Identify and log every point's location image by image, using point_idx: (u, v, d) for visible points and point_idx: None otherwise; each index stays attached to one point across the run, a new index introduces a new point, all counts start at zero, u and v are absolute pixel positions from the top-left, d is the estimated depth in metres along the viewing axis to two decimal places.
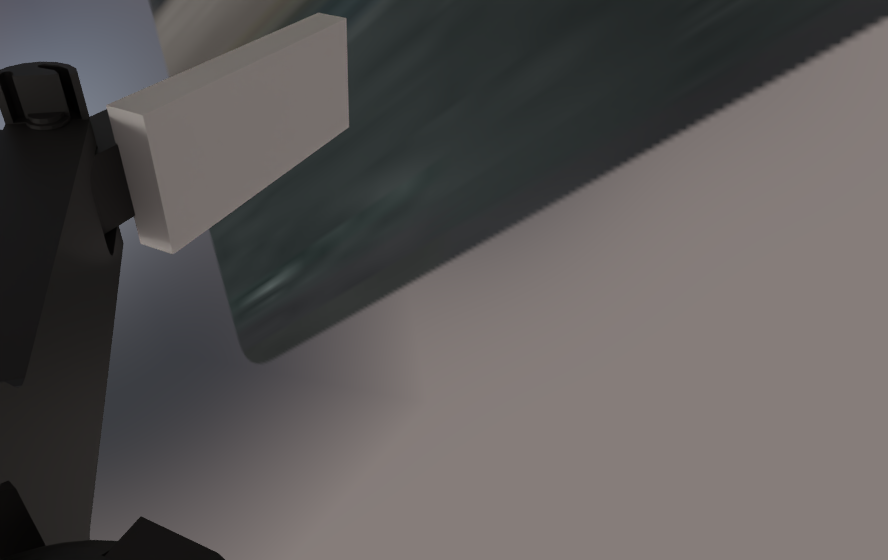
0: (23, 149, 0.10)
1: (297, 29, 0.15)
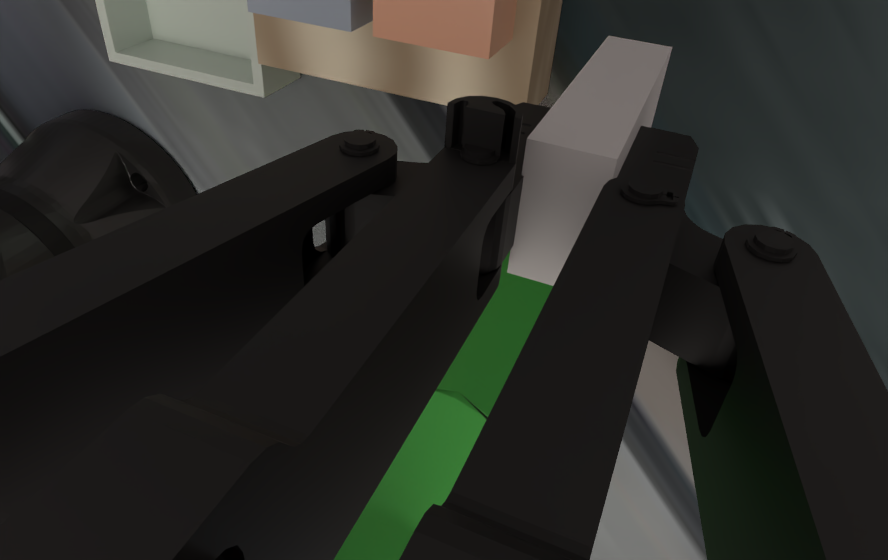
0: (444, 177, 0.10)
1: (610, 54, 0.15)
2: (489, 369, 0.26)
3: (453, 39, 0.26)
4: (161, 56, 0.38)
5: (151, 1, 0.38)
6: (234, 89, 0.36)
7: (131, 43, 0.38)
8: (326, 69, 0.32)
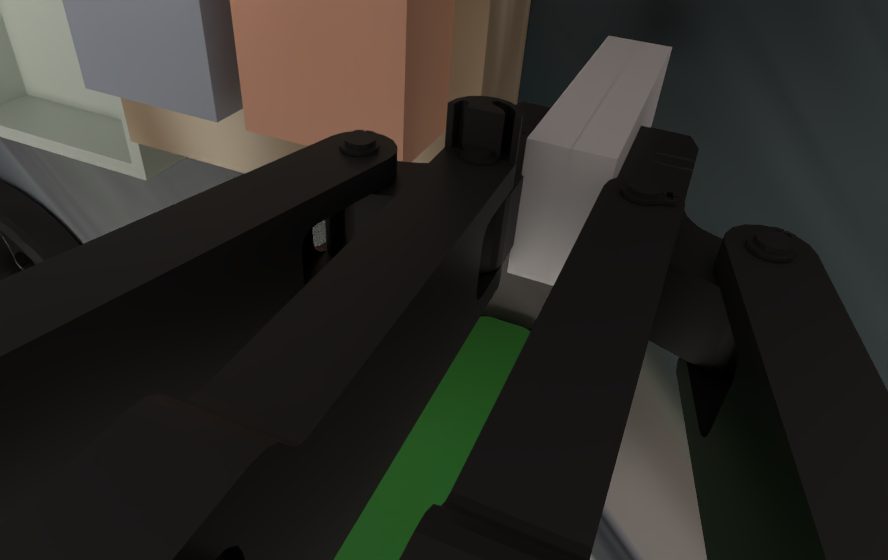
0: (444, 178, 0.10)
1: (610, 54, 0.15)
2: None
3: None
4: (26, 121, 0.30)
5: (19, 50, 0.31)
6: (110, 168, 0.28)
7: None
8: (213, 153, 0.24)
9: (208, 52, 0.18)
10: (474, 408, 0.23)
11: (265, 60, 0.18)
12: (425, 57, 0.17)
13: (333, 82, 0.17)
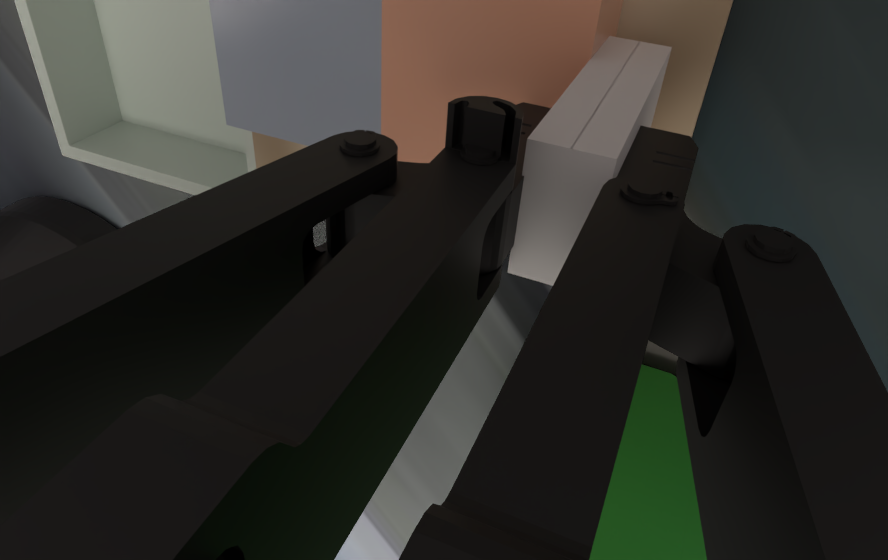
0: (444, 178, 0.10)
1: (610, 54, 0.15)
2: None
3: None
4: (129, 151, 0.28)
5: (118, 75, 0.29)
6: None
7: (92, 131, 0.29)
8: None
9: None
10: (641, 467, 0.22)
11: (414, 92, 0.16)
12: None
13: None
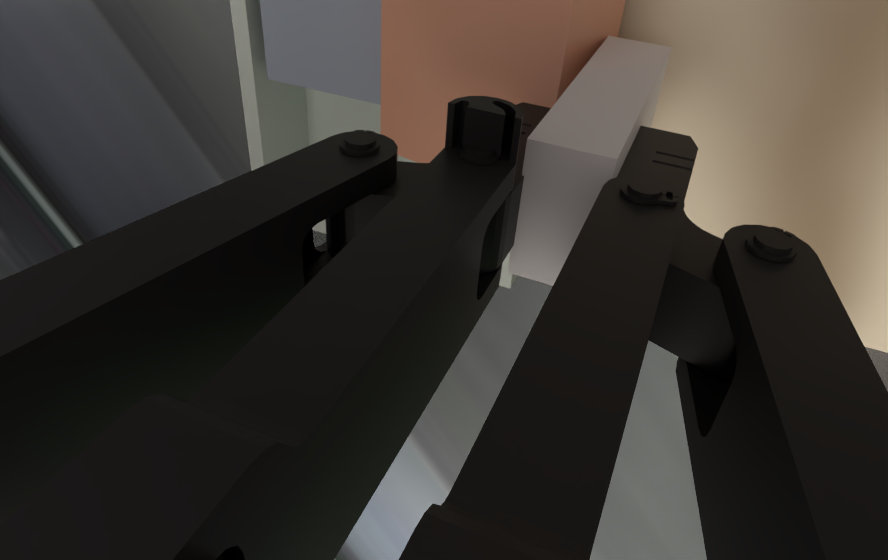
0: (444, 178, 0.10)
1: (610, 54, 0.15)
2: None
3: None
4: None
5: (316, 124, 0.26)
6: None
7: None
8: None
9: None
10: None
11: (409, 79, 0.17)
12: None
13: None
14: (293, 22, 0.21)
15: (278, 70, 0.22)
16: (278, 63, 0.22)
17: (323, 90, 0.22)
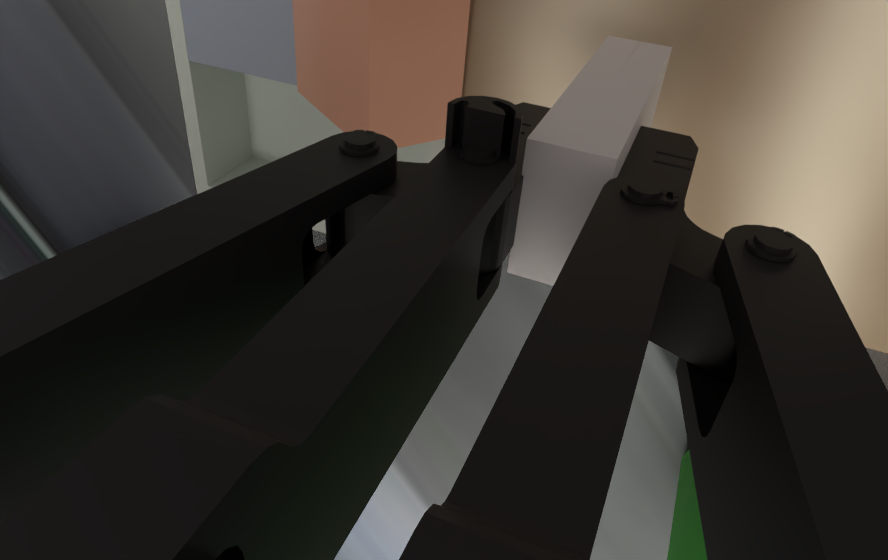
0: (444, 178, 0.10)
1: (610, 54, 0.15)
2: None
3: (344, 117, 0.19)
4: None
5: (255, 110, 0.27)
6: None
7: (227, 169, 0.27)
8: None
9: None
10: None
11: (305, 30, 0.20)
12: (408, 52, 0.18)
13: (335, 58, 0.19)
14: (209, 6, 0.22)
15: (198, 52, 0.23)
16: (198, 45, 0.23)
17: (240, 71, 0.23)
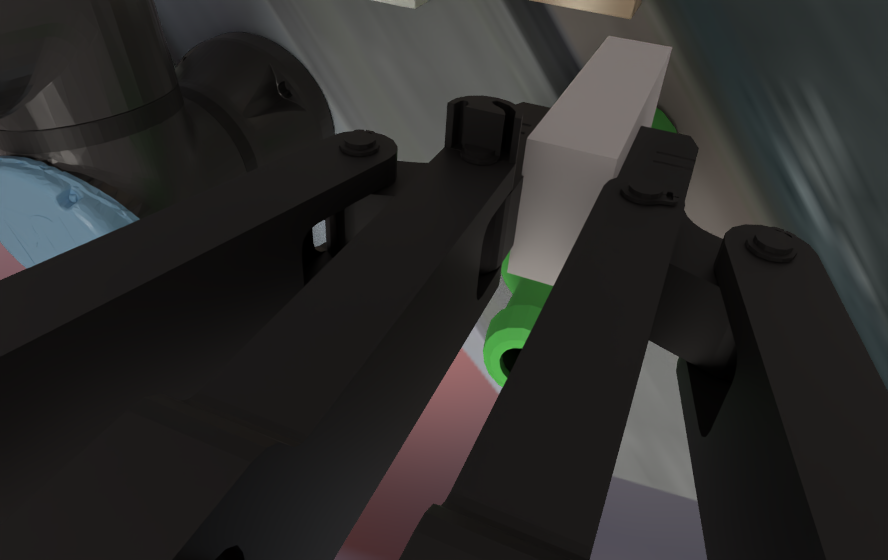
0: (444, 178, 0.10)
1: (610, 54, 0.15)
2: None
3: None
4: None
5: None
6: (389, 2, 0.45)
7: None
8: None
9: None
10: None
11: None
12: None
13: None
14: None
15: None
16: None
17: None
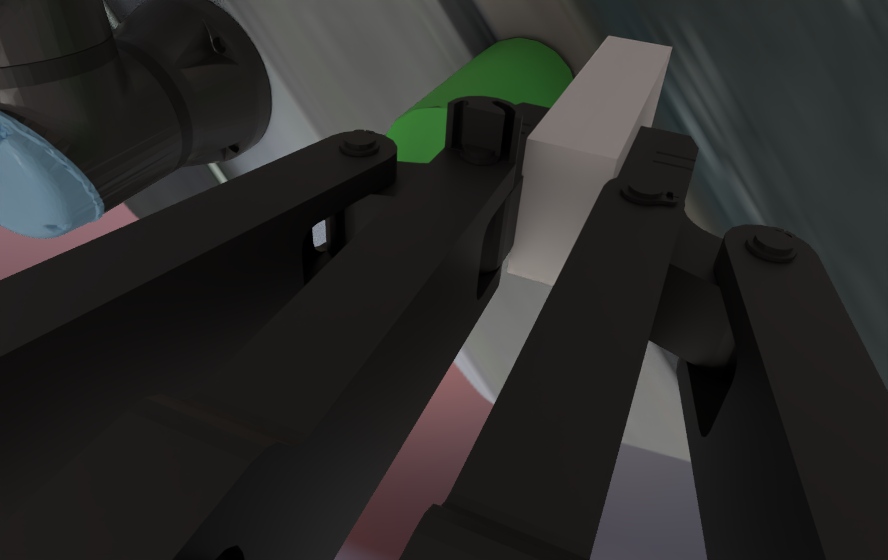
0: (444, 178, 0.10)
1: (610, 54, 0.15)
2: None
3: None
4: None
5: None
6: None
7: None
8: None
9: None
10: (513, 60, 0.44)
11: None
12: None
13: None
14: None
15: None
16: None
17: None
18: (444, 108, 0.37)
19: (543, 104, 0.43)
